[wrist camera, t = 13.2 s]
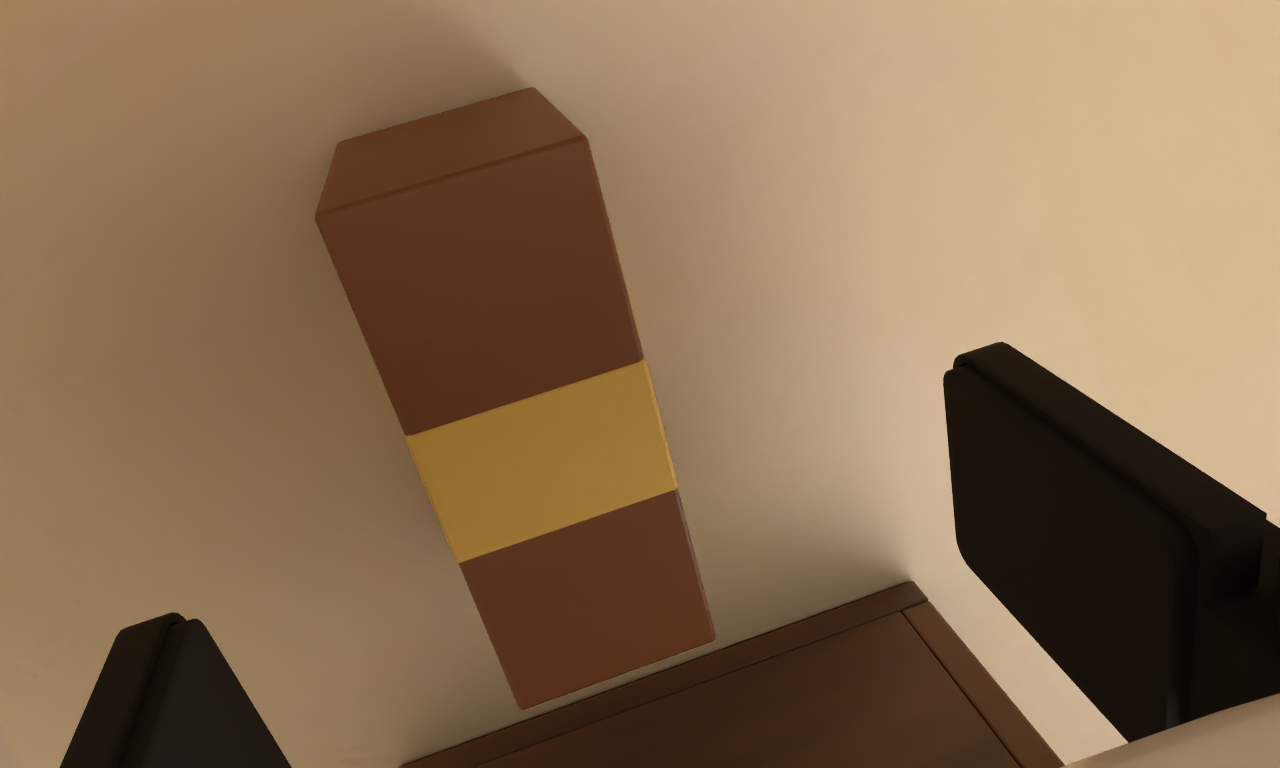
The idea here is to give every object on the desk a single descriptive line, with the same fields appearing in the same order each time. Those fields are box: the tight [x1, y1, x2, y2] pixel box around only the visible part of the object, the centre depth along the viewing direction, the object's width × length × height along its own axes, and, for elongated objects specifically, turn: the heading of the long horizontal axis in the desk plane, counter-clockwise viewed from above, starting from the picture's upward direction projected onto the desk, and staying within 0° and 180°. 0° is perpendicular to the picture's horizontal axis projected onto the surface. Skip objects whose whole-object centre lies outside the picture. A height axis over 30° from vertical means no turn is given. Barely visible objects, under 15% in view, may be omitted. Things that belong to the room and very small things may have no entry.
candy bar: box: [315, 88, 715, 710], centre depth 16 cm, size 4×9×5 cm, turn 13°
